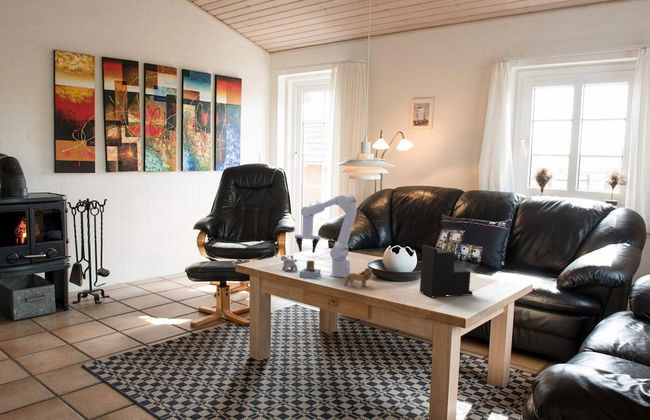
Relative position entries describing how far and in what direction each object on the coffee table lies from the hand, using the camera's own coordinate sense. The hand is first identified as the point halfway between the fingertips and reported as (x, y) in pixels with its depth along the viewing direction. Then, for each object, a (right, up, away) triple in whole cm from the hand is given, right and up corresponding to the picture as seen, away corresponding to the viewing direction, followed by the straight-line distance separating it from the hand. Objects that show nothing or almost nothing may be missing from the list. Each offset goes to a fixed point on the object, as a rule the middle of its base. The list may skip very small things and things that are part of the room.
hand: (306, 251), depth 297 cm
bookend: (+68, -17, -41) cm, 82 cm away
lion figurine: (+27, -15, -32) cm, 44 cm away
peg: (+2, -12, -13) cm, 18 cm away
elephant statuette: (-11, -10, +2) cm, 15 cm away
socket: (+2, -12, -13) cm, 18 cm away
